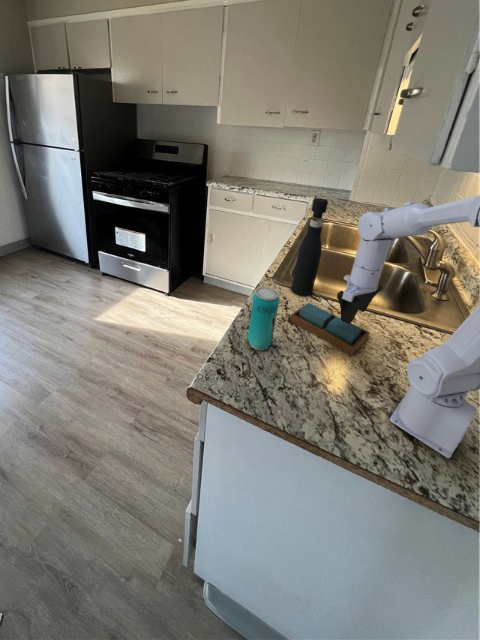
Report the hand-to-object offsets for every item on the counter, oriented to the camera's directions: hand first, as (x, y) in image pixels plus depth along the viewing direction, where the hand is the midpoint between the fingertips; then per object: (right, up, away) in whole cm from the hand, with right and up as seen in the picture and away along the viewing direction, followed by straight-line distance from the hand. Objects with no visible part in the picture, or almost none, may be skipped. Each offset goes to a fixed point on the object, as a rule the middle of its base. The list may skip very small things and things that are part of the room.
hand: (353, 315), depth 75 cm
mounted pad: (-5, -4, +11) cm, 13 cm away
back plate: (-2, -5, +9) cm, 10 cm away
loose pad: (0, -6, +6) cm, 8 cm away
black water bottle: (-3, +3, +26) cm, 26 cm away
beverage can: (-22, -8, +3) cm, 23 cm away
